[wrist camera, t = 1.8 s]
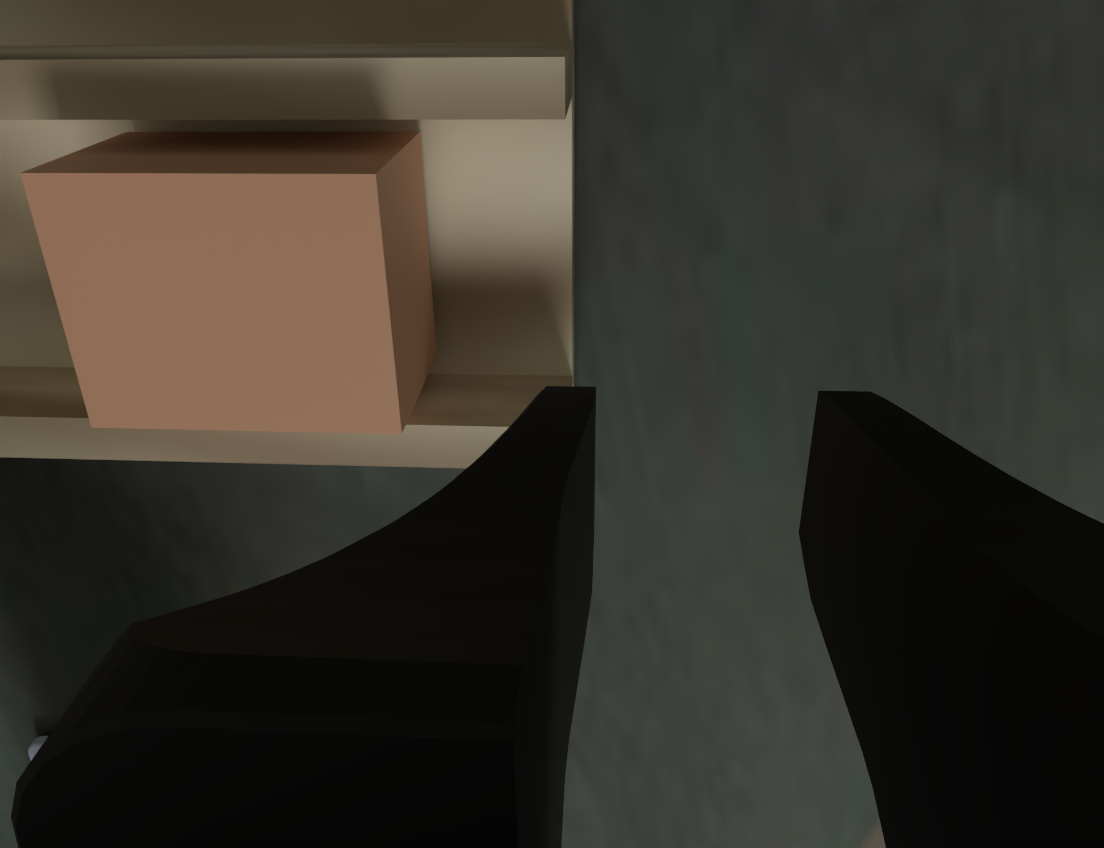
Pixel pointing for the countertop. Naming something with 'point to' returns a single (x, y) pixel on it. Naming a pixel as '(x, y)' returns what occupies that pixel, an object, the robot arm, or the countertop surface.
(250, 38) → the chute
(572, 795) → the countertop surface
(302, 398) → the block
